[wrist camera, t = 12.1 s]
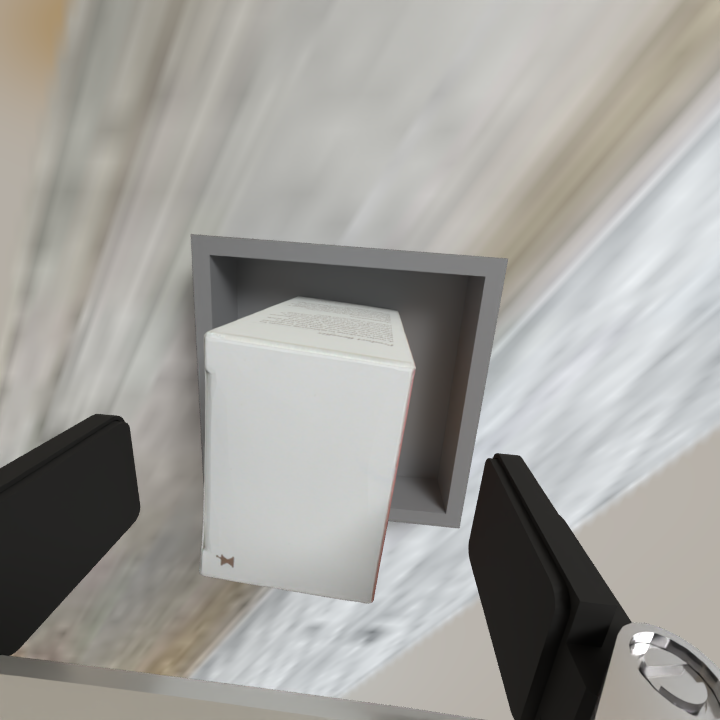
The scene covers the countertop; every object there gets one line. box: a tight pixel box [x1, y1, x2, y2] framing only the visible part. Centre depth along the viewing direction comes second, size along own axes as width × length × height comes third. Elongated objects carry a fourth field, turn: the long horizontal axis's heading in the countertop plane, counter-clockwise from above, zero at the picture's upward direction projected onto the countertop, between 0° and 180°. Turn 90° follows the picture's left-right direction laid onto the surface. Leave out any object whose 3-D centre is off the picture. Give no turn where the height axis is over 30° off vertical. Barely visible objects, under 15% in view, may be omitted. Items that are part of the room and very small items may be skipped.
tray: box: [191, 234, 508, 528], centre depth 19 cm, size 14×14×4 cm
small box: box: [199, 296, 416, 603], centre depth 15 cm, size 8×6×10 cm
